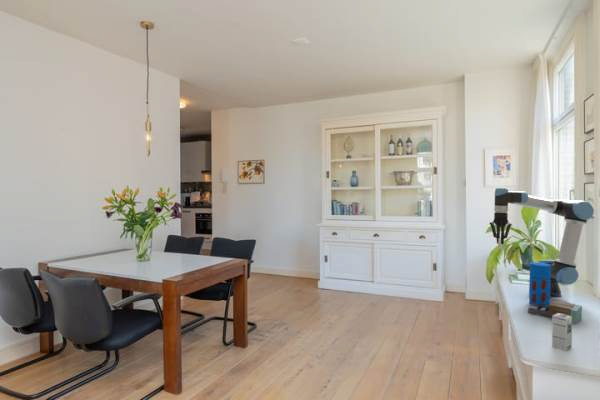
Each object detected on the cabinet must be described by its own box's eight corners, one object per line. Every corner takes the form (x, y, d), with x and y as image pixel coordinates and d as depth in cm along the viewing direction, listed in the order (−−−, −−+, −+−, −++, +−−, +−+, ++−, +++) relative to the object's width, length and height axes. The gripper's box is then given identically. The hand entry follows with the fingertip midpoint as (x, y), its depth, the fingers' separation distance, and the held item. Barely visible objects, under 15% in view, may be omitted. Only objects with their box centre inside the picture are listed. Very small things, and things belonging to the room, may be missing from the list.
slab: (554, 307, 210) (554, 300, 210) (575, 311, 203) (575, 304, 203) (548, 312, 202) (548, 304, 202) (570, 316, 195) (570, 309, 195)
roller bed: (533, 308, 217) (533, 303, 217) (575, 317, 203) (575, 311, 203) (528, 312, 210) (528, 307, 210) (570, 322, 195) (570, 316, 195)
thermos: (553, 307, 219) (554, 266, 218) (533, 306, 221) (534, 265, 220) (544, 302, 229) (546, 262, 229) (526, 301, 232) (527, 261, 231)
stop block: (575, 317, 203) (575, 304, 203) (581, 318, 202) (581, 305, 201) (570, 322, 195) (570, 309, 194) (576, 324, 193) (576, 310, 192)
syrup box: (566, 351, 160) (567, 318, 160) (551, 346, 165) (552, 314, 164) (571, 348, 164) (572, 315, 163) (556, 343, 168) (557, 312, 168)
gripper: (488, 211, 237) (487, 248, 238) (510, 213, 227) (509, 250, 228) (492, 211, 242) (491, 247, 243) (514, 212, 232) (513, 249, 233)
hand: (500, 248), depth 235 cm, fingers closed
